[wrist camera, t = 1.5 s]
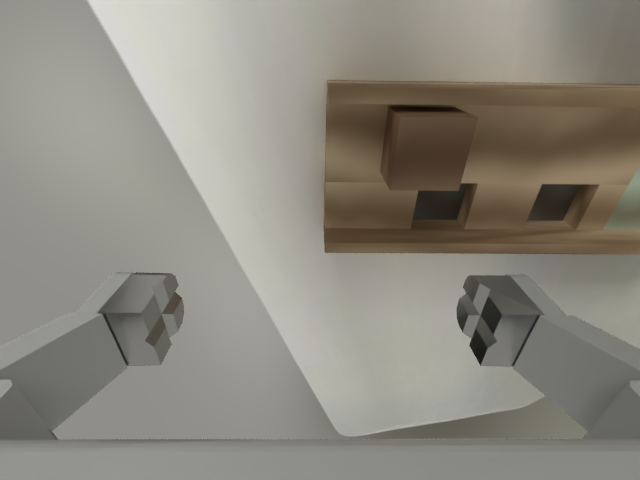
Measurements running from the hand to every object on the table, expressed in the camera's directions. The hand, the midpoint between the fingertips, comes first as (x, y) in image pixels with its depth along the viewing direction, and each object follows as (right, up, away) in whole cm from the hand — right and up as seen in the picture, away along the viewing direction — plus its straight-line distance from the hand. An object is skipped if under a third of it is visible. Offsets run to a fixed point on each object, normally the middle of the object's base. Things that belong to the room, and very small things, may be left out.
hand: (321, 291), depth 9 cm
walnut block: (+8, +9, +16) cm, 20 cm away
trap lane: (+17, +8, +19) cm, 26 cm away
